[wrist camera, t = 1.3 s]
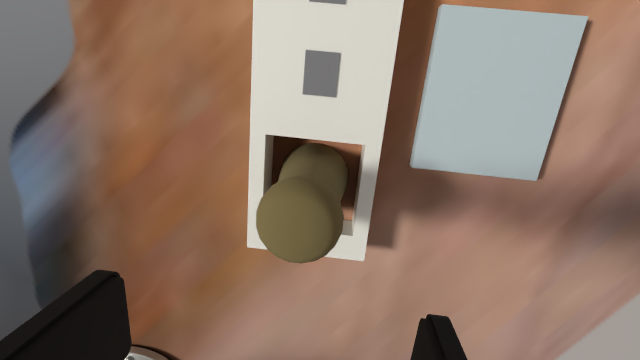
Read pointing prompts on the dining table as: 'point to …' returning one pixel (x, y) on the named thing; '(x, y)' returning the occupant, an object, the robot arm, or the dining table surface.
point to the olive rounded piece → (304, 205)
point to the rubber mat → (493, 90)
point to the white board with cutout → (322, 92)
